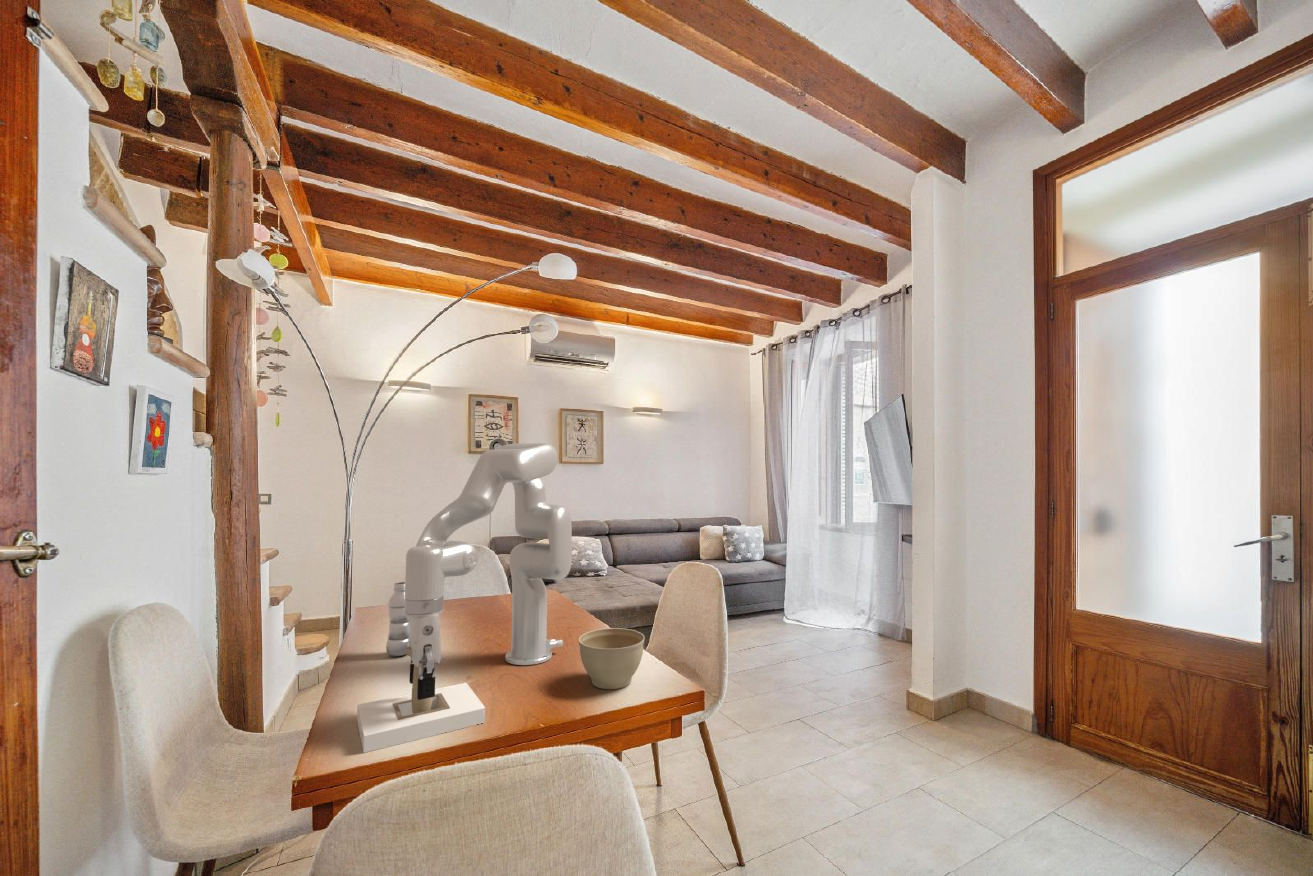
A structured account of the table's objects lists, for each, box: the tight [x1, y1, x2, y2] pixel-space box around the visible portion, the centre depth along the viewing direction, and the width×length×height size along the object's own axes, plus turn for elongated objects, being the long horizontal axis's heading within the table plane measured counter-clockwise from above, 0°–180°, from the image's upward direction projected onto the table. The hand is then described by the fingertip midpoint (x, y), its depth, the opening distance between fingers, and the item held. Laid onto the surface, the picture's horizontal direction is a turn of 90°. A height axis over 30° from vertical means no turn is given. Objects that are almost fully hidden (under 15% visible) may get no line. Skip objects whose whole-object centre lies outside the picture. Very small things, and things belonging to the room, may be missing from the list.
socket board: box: [356, 682, 486, 754], centre depth 111 cm, size 22×16×3 cm
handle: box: [406, 646, 432, 714], centre depth 112 cm, size 5×6×15 cm
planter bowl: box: [578, 627, 645, 690], centre depth 132 cm, size 16×16×11 cm
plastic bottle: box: [385, 581, 410, 657], centre depth 152 cm, size 6×7×20 cm
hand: (421, 689), depth 111 cm, fingers open, 9 cm apart
